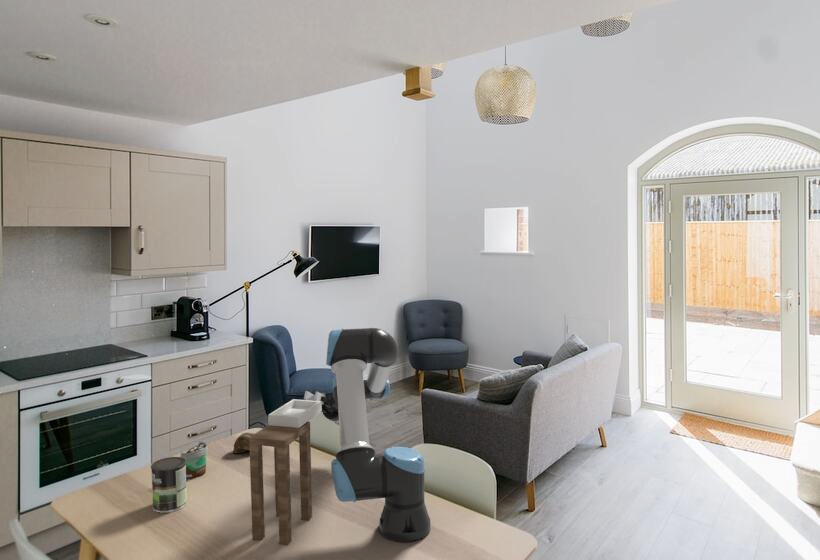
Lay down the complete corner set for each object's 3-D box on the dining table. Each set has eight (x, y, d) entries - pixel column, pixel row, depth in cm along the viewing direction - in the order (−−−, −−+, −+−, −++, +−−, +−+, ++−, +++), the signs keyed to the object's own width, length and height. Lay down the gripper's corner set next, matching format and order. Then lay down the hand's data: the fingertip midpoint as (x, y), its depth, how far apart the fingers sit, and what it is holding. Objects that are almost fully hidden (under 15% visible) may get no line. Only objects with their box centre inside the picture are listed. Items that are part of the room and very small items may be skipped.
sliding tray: (308, 399, 185) (307, 390, 185) (335, 401, 183) (334, 391, 182) (268, 425, 159) (268, 414, 159) (299, 427, 157) (298, 417, 156)
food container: (196, 482, 189) (195, 454, 188) (181, 481, 190) (179, 453, 190) (215, 467, 201) (215, 441, 200) (201, 466, 202) (200, 440, 202)
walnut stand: (279, 512, 167) (277, 418, 165) (312, 516, 165) (310, 421, 162) (252, 540, 152) (249, 437, 150) (287, 545, 149) (284, 440, 147)
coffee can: (160, 516, 165) (158, 472, 164) (147, 505, 172) (145, 463, 171) (193, 504, 173) (191, 462, 172) (179, 494, 180) (177, 453, 179)
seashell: (266, 448, 220) (265, 429, 219) (254, 457, 211) (253, 437, 210) (241, 446, 222) (240, 427, 222) (228, 455, 213) (228, 435, 213)
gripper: (354, 423, 192) (331, 408, 172) (313, 419, 197) (286, 404, 176) (357, 402, 196) (335, 385, 175) (317, 399, 200) (291, 382, 179)
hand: (310, 395), depth 176 cm, fingers closed on sliding tray, 3 cm apart
